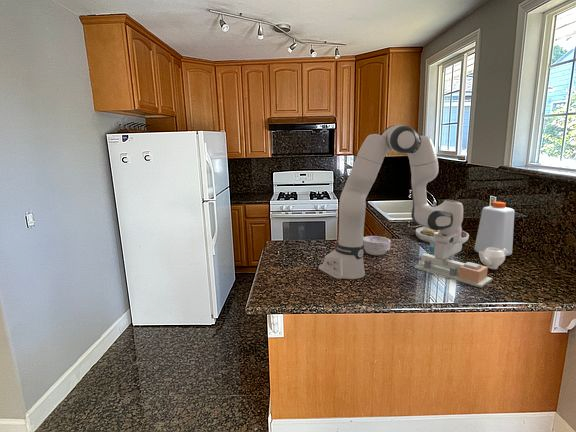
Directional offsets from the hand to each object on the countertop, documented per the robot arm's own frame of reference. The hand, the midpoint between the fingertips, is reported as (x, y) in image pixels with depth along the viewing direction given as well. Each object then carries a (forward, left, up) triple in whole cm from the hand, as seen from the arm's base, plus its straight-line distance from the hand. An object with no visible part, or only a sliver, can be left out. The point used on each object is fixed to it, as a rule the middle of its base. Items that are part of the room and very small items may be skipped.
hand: (447, 264), depth 157 cm
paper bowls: (-39, -1, -4) cm, 39 cm away
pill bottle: (-13, +16, -4) cm, 21 cm away
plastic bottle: (+3, +47, -4) cm, 47 cm away
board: (+2, 0, -4) cm, 5 cm away
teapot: (+11, +23, -4) cm, 26 cm away
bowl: (-28, +52, -5) cm, 59 cm away
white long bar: (+1, 0, -2) cm, 2 cm away
